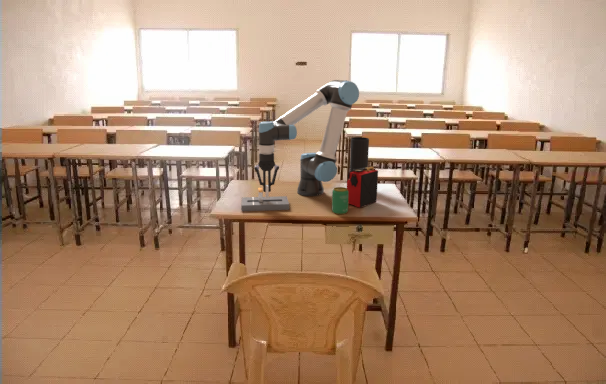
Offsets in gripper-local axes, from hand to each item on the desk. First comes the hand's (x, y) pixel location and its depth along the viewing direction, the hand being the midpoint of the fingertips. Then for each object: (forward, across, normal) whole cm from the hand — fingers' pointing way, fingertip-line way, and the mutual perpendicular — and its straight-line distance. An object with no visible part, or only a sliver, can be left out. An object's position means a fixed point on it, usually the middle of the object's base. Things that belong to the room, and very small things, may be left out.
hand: (267, 197), depth 236 cm
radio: (+5, -50, 0) cm, 50 cm away
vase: (+4, -55, -28) cm, 62 cm away
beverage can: (+5, -36, +13) cm, 38 cm away
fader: (+5, +3, 0) cm, 6 cm away
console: (+5, +1, 0) cm, 5 cm away
